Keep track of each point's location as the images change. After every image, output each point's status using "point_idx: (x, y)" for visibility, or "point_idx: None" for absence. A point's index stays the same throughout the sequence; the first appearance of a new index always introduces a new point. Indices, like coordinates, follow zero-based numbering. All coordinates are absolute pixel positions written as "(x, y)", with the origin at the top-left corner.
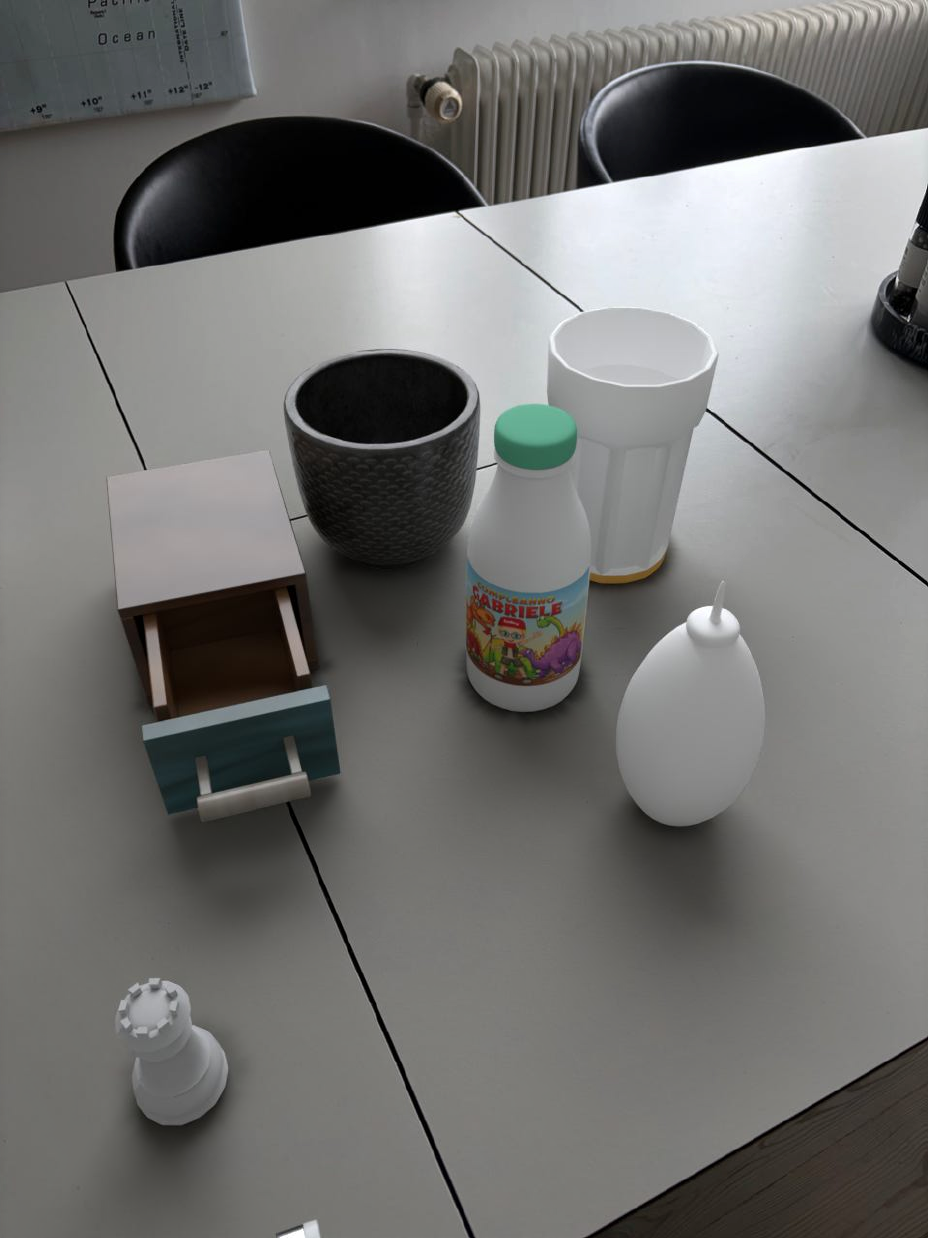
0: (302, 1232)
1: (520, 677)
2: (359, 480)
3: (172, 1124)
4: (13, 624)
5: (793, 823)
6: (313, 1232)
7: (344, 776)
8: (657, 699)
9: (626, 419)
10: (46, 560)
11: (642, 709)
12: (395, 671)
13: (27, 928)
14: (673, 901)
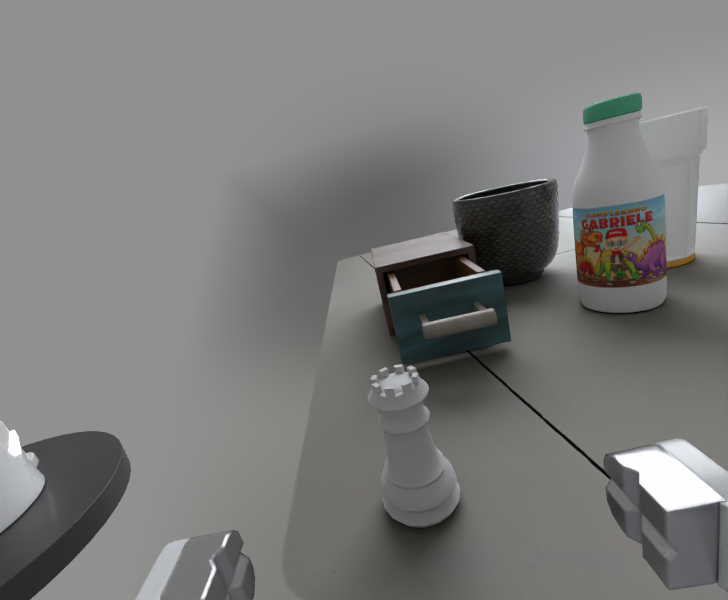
0: (658, 445)
1: (627, 279)
2: (496, 215)
3: (415, 524)
4: (327, 322)
5: None
6: (681, 445)
7: (513, 347)
8: None
9: (657, 141)
10: (344, 305)
11: None
12: (532, 310)
13: (317, 418)
14: None
